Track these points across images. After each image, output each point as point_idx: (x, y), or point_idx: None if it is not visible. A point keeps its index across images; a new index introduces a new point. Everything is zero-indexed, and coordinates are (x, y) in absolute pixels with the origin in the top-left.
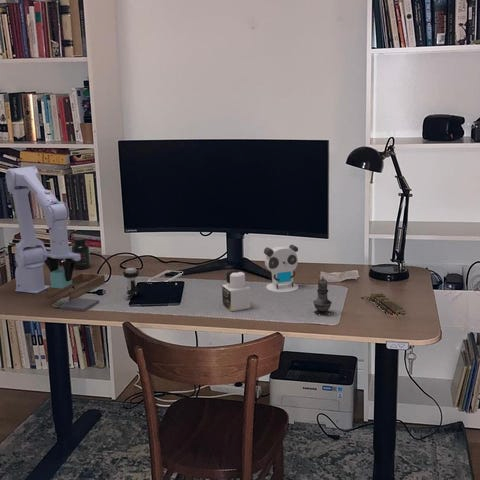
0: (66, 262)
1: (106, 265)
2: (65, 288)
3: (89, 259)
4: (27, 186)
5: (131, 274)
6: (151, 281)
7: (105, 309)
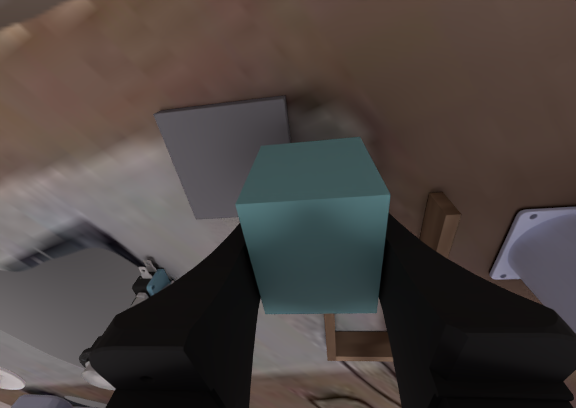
0: (100, 346)
1: None
2: None
3: None
4: None
5: (83, 351)
6: None
7: (118, 168)
